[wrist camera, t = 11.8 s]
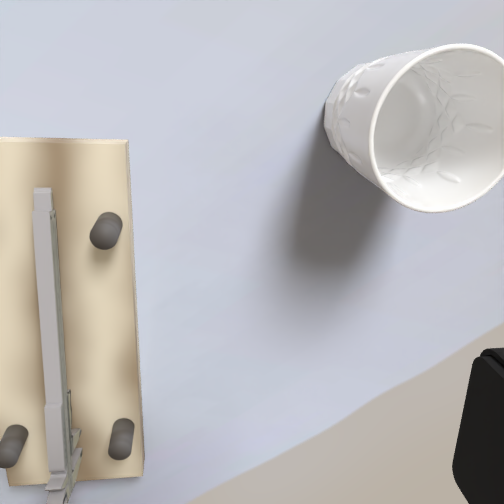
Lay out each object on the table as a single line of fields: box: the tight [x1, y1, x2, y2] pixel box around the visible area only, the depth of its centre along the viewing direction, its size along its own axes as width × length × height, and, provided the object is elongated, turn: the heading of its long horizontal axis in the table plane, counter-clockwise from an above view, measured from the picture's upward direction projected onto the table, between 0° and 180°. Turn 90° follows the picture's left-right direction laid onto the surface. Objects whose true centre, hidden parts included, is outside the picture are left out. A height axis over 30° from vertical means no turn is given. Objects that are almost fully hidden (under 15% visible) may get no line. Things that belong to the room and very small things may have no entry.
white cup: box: [324, 44, 504, 213], centre depth 27 cm, size 8×8×10 cm
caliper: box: [32, 188, 83, 504], centre depth 29 cm, size 20×1×6 cm, turn 178°
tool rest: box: [0, 137, 145, 486], centre depth 32 cm, size 10×26×4 cm, turn 178°
